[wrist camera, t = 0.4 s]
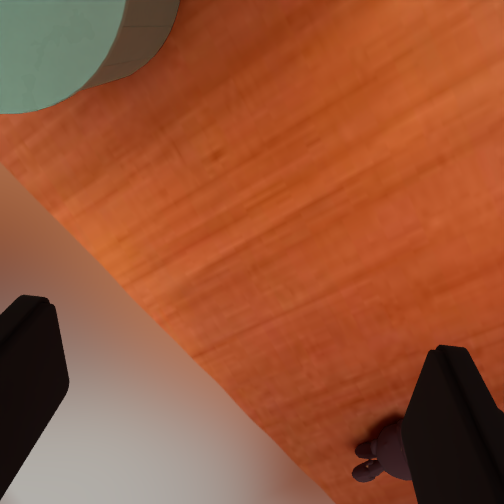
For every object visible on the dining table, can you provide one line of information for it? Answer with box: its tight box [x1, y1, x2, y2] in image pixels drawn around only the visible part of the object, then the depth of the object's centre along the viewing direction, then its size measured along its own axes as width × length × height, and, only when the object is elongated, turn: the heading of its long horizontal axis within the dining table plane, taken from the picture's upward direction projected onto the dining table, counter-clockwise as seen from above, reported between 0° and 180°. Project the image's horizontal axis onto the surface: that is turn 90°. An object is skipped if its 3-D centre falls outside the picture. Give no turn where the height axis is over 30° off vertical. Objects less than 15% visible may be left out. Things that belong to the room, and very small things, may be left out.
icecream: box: [352, 419, 412, 482], centre depth 52 cm, size 7×7×15 cm
